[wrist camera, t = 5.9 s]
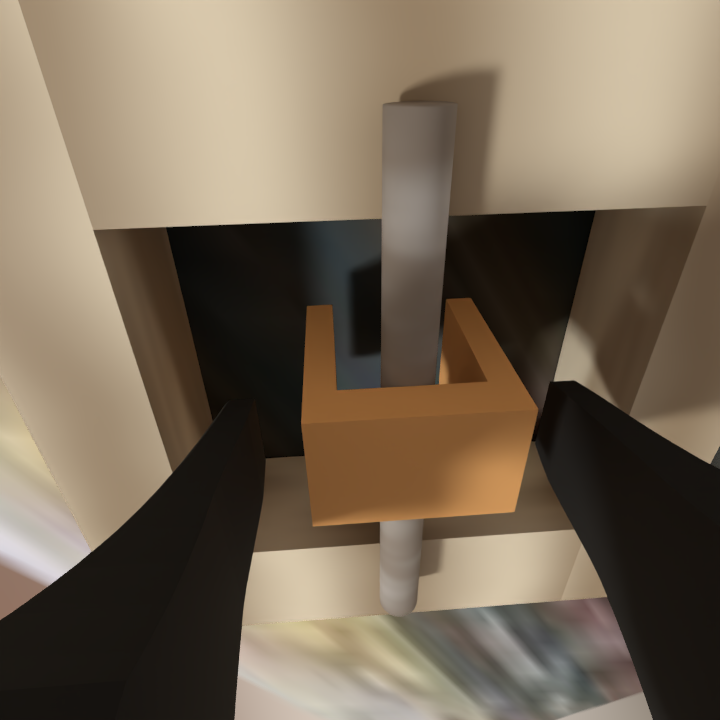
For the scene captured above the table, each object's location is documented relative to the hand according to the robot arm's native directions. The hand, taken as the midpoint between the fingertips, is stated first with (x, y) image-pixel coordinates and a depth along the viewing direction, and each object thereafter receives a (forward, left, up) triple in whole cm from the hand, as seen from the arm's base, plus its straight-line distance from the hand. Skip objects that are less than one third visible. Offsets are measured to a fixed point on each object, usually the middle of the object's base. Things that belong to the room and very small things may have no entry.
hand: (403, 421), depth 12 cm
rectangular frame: (0, 0, -4) cm, 4 cm away
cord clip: (0, 0, -3) cm, 3 cm away
